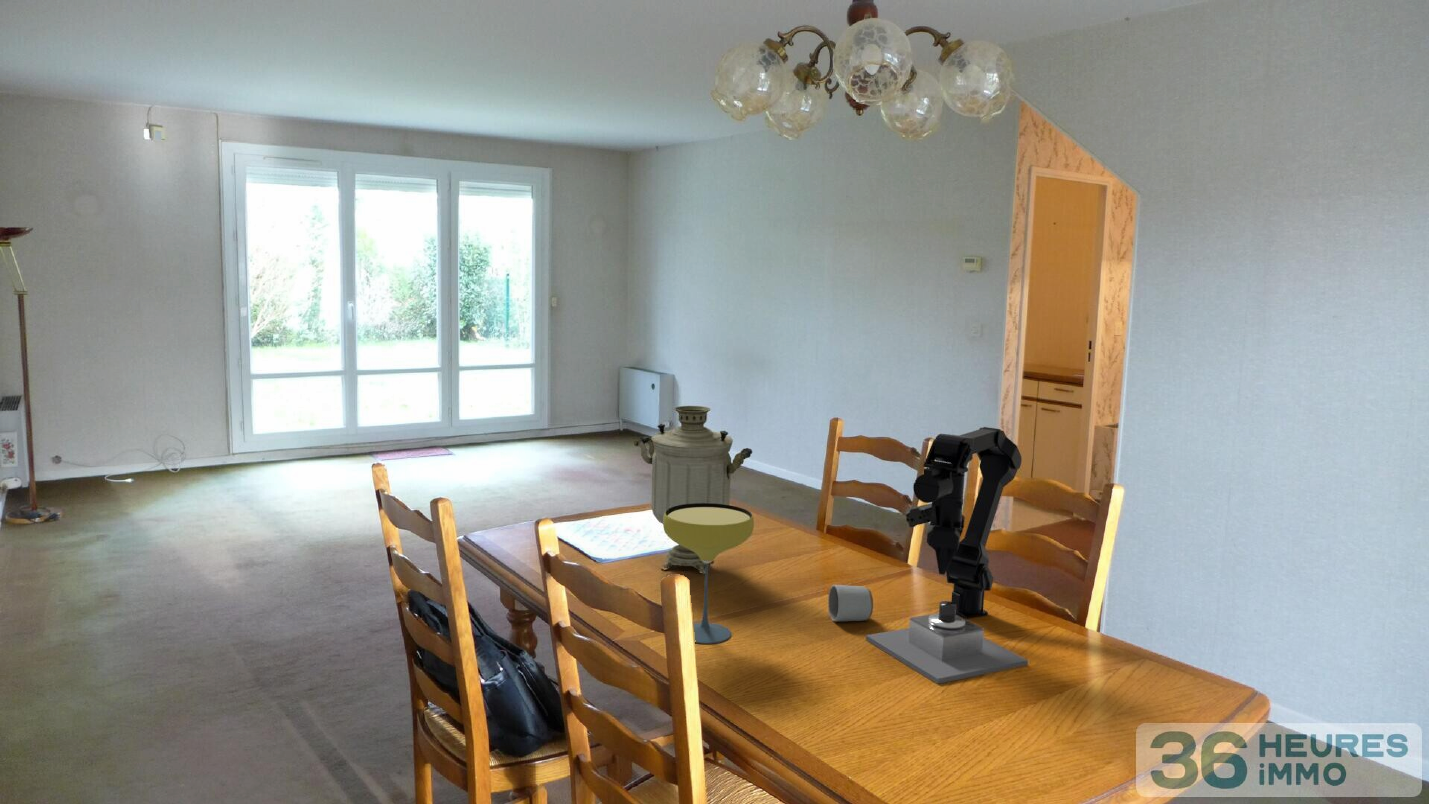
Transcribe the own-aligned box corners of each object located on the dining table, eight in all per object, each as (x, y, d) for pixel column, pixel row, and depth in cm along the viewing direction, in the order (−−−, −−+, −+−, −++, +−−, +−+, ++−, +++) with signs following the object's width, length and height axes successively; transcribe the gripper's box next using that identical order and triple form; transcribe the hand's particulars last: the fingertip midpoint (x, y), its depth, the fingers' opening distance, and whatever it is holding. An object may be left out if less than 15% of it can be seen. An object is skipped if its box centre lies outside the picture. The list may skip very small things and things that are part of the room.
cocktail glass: (647, 623, 191) (650, 505, 188) (727, 613, 198) (731, 500, 195) (679, 656, 175) (683, 528, 171) (764, 644, 182) (769, 521, 179)
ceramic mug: (874, 625, 194) (876, 590, 193) (837, 626, 193) (839, 591, 192) (857, 608, 205) (859, 575, 204) (822, 609, 203) (823, 576, 202)
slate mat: (950, 625, 196) (951, 620, 196) (1027, 665, 176) (1028, 660, 176) (865, 640, 186) (866, 635, 186) (937, 684, 167) (937, 678, 166)
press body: (947, 634, 188) (949, 611, 187) (982, 653, 179) (984, 628, 178) (908, 641, 183) (910, 617, 183) (941, 661, 174) (943, 635, 174)
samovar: (771, 562, 236) (778, 407, 231) (717, 589, 214) (723, 419, 209) (676, 541, 252) (680, 396, 246) (616, 564, 230) (619, 405, 224)
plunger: (947, 636, 186) (949, 596, 185) (971, 649, 179) (974, 607, 178) (919, 641, 183) (922, 600, 181) (942, 654, 176) (945, 612, 175)
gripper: (914, 482, 202) (910, 551, 204) (903, 500, 184) (899, 575, 187) (967, 487, 199) (962, 557, 201) (961, 506, 181) (955, 583, 183)
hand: (943, 567), depth 193 cm, fingers open, 9 cm apart
